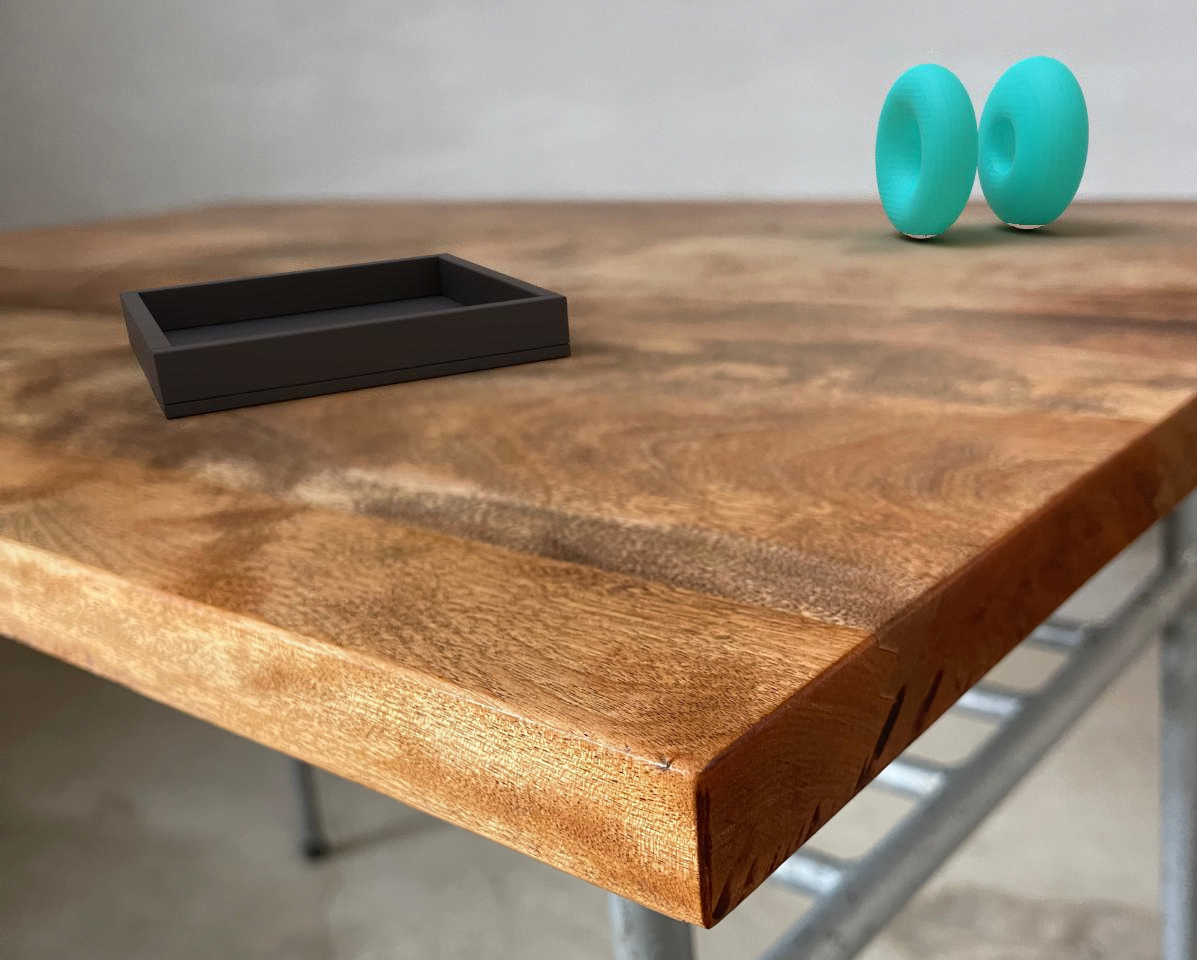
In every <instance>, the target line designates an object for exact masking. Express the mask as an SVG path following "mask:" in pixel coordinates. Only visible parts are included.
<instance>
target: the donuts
mask: <svg viewBox="0 0 1197 960" xmlns="http://www.w3.org/2000/svg"><path fill="white" fill-rule="evenodd" d="M1084 95H1085V94H1084V93H1083V90H1082V87H1081V85H1080V83H1079V81H1078V80H1077V78H1076V77H1075V75H1074V73H1073V72H1072V71H1071V69H1070V68H1069V67H1068V66H1067V65H1065V64H1064V63H1062V61H1059V60H1058V59H1056V58H1054V57H1050V56H1046V55H1033V56H1029V57H1026V58H1023V59H1021V60H1020V61H1018V62H1016V63H1014V64H1012V65H1011V66H1009V68H1008V69H1007V70H1005V72H1003V74H1002V75H1001V76H1000V77H999V78H998V80H997V81H996V82H995V84H994V85H993V87H992V89H991V90H990V92H989V94H988V96H987V98H986V101H985V103H984V106H983V109H982V111H981V116H980V119H979V124H978V123H977V117H976V113H975V108H974V105H973V102H972V99H971V97H970V94H969V93H968V90H967V89H966V87H965V85H964V84H963V83H962V81H961V80H960V78H959V77H958V76H957V75H956V74H955V73H953V72H952V71H951V70H950V69H948V68H947V67H944V66H943V65H940V64H936V63H930V62H928V63H920V64H917V65H914V66H912V67H910V68H909V69H907V70H906V71H904V72H903V73H901V74H900V76H899V77H898V78H897V79H896V80H895V81H894V83H893V84H892V86H891V87H890V89H889V90H888V92H887V95H886V96H885V99H884V102H883V104H882V108H881V110H880V114H879V117H878V118H879V119H878V123H877V128H876V129H877V130H876V135H875V136H876V137H875V146H874V147H875V148H874V151H875V152H874V163H875V177H876V184H877V189H878V194H879V198H880V202H881V204H882V207H883V210H884V213H885V214H886V216H887V218H888V221H890V223H891V224H892V226H893V227H894V228H895V229H896V230H897V231H898V232H899V231H900V233H901V232H903V233H906V234H912V235H923V236H924V235H925V236H927V235H938V234H940V235H941V234H943V233H944V232H946V231H948V230H949V229H950V227H952V226H953V225H954V224H955V222H956V221H957V220H959V217H960V216H961V215H962V213H963V211H964V210H965V208H966V205H967V204H968V202H969V199H970V196H971V195H972V191H973V187H974V184H975V180H976V175H978V180H979V185H980V188H981V191H982V193H983V197H984V199H985V201H986V203H987V204H988V206H989V208H990V209H991V210H992V212H993V213H994V215H995V216H996V217H997V218H998V219H999V220H1001V222H1003V223H1004V222H1006V223H1012V224H1019V225H1046V224H1048V225H1050V224H1052V223H1053V222H1054V221H1056V220H1057V219H1058V218H1059V217H1061V216H1062V215H1063V213H1064V212H1065V211H1066V210H1067V209H1068V207H1069V206H1070V204H1071V203H1072V201H1073V199H1074V198H1075V196H1076V194H1077V192H1078V190H1079V187H1080V185H1081V182H1082V179H1083V176H1084V173H1085V168H1086V165H1087V159H1088V151H1089V139H1090V138H1089V137H1090V124H1089V123H1090V122H1089V113H1088V108H1087V103H1086V99H1085V96H1084ZM1006 223H1005V224H1006ZM1046 226H1047V225H1046ZM938 236H939V235H938Z"/></svg>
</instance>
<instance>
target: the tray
mask: <svg viewBox="0 0 1197 960" xmlns="http://www.w3.org/2000/svg"><path fill="white" fill-rule="evenodd" d="M118 295H119V299H120V302H121V303H120V304H121V309H122V313H123V318H124V323H125V327H126V331H127V332H126V333H127V336H128V342H129V344H130V347H131V348H132V351H133V352H134V355H135V358H136V359H137V361H138V363H139V365H140V367H141V370H142V371H143V373H144V375H145V378H146V380H147V381H148V384H149V385H150V388H151V390H152V392H153V394H154V396H155V398H156V401H157V402H158V404H159V406H160V408H161V410H162V412H163V415H164V417H165V418H166V419H174V418H180V417H185V416H191V415H192V416H193V415H199V414H206V413H212V412H219V411H225V410H230V409H236V408H244V407H249V406H257V405H263V404H270V403H274V402H275V403H276V402H282V401H288V400H289V401H290V400H294V399H295V400H296V399H301V398H302V399H303V398H308V397H314V396H321V395H326V394H333V393H339V392H345V391H353V390H359V389H365V388H366V389H367V388H372V387H377V386H385V385H391V384H398V383H403V382H409V381H418V380H423V379H430V378H437V377H442V376H449V375H455V374H461V373H468V372H475V371H480V370H488V369H493V368H501V367H506V366H513V365H518V364H520V365H521V364H524V363H532V362H538V361H543V360H544V361H545V360H550V359H558V358H565V357H570V356H571V355H572V352H571V350H572V349H571V344H570V343H571V340H570V323H569V310H568V297H567V296H566V295H564V294H560V293H558V292H555V291H552V290H549V289H548V288H547V289H546V288H544V287H541V286H538V285H535V284H533V283H530V282H528V281H525V280H522V279H519V278H517V277H514V276H511V275H508V274H506V273H502V272H500V271H497V270H494V269H492V268H489V267H487V266H483V265H481V264H478V263H475V262H472V261H469V260H467V259H464V258H461V257H459V256H456V255H453V254H451V253H448V252H443V253H435V254H426V255H418V256H411V257H403V258H402V257H401V258H393V259H385V260H377V261H368V262H361V263H360V262H359V263H350V264H343V265H336V266H327V267H319V268H318V267H317V268H310V269H300V270H293V271H285V272H275V273H267V274H260V275H252V276H251V275H250V276H243V277H236V278H235V277H233V278H227V279H218V280H210V281H201V282H194V283H185V284H176V285H168V286H161V287H151V288H144V289H135V290H127V291H119V294H118Z"/></svg>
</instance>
